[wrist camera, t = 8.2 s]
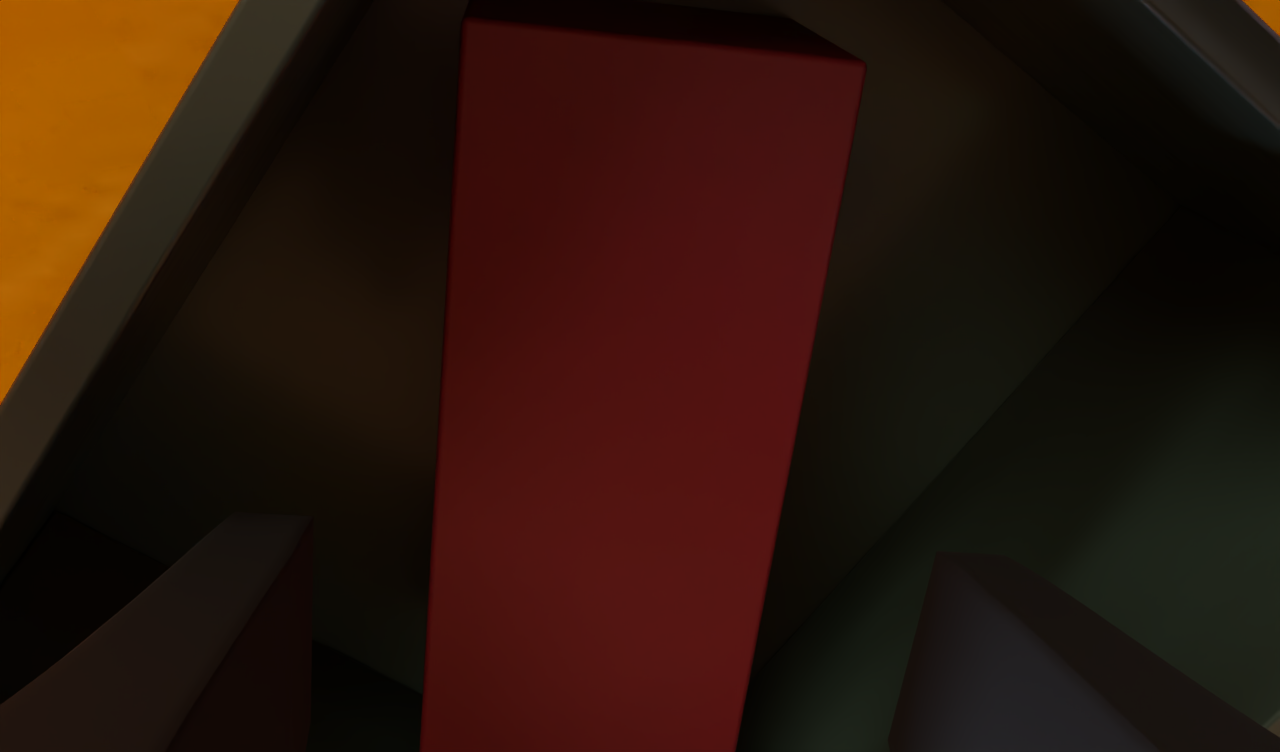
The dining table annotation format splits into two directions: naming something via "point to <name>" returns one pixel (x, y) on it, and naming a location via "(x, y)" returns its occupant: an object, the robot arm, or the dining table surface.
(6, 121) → the dining table surface
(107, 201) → the dining table surface
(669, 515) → the red rectangular block
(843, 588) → the carton
